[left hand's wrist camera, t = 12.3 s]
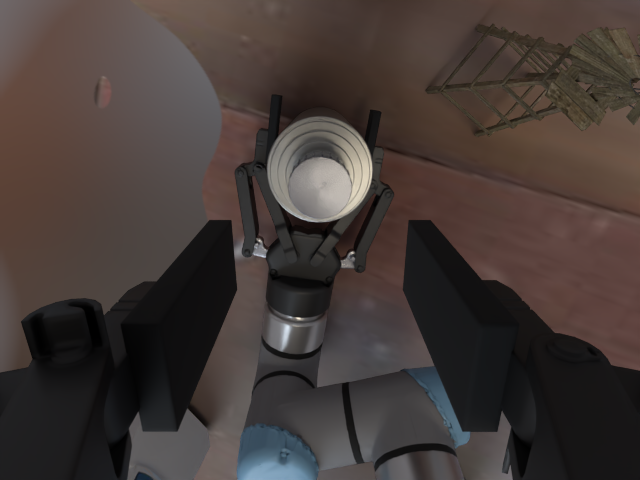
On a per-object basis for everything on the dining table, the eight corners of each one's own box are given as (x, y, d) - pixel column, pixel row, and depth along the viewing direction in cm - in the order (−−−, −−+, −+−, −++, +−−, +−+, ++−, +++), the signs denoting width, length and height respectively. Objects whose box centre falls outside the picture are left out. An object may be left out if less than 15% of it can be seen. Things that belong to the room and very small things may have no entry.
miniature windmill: (421, 88, 44) (606, 82, 15) (476, 19, 41) (812, -135, 13) (479, 139, 45) (737, 216, 17) (535, 77, 43) (936, 49, 15)
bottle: (299, 96, 44) (278, 100, 22) (363, 121, 45) (404, 148, 23) (277, 162, 47) (241, 223, 25) (339, 184, 48) (355, 262, 26)
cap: (301, 141, 25) (299, 146, 23) (359, 163, 25) (362, 169, 23) (281, 198, 26) (278, 207, 24) (337, 218, 27) (338, 228, 25)
